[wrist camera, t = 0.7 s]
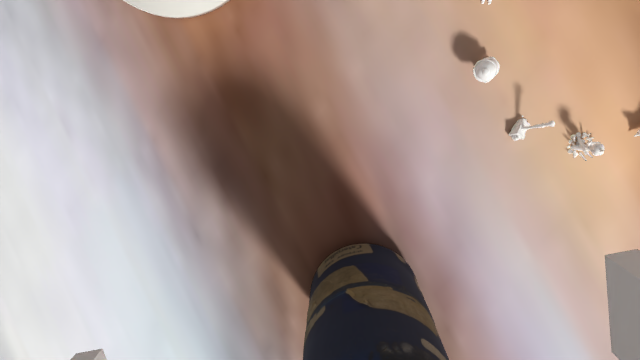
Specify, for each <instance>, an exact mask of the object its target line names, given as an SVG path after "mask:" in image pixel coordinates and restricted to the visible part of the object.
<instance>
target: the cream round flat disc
mask: <svg viewBox="0 0 640 360" xmlns="http://www.w3.org/2000/svg"><path fill="white" fill-rule="evenodd" d="M124 1H125V2H127V3H128V4H130V5H132V6H134V7H136V8H138V9H140V10H142V11H145V12H148V13H151V14H154V15H157V16H162V17H166V18H178V19H180V18H192V17H197V16H201V15H204V14H207V13H210V12H212V11H214V10H216V9H218V8H220V7H222V6H223V5H224V4H226V3H227V2H228V1H230V0H124Z"/></svg>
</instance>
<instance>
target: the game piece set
mask: <svg viewBox="0 0 640 360" xmlns="http://www.w3.org/2000/svg"><path fill="white" fill-rule="evenodd" d="M491 1H492V0H488V4H489V5H490V4H491ZM484 2H485V0H481V4H484ZM474 66H475V67H473V69H474V70H473V73H474V76H475V78H476V79H477V80H478V81H480V82H484V83H486V82H489V81H490V80H491V79H493V78H494V77H495V76H496V75H497V73H498V72H499V68H500V66H499V62H498V61H497V60H496V59H495V58H494V57H487V58H483V59H482V60H479V61H477V62H476V64H475V65H474ZM522 117H523V115H522ZM554 125H555V122H554V121H550V122H548V123H542V124H538V125H534V126H530V123H528V122H527V120H526V119H524V118H522V119H518V120H517V122H516V124H515V125H513V128H512V129H511V131H510V133H509V134H508V135H509V136H511V137H512V139H513V140H515V141H516V140H519V139H524V138H525V133H526V130H528V129H532V128H540V127H545V126H550V127H554ZM590 134H591V133H590ZM590 134H587V133H585V132H584V133H583V134H582V135H583V136H582V137H581V138H584V137H586V136H587V137H589V135H590ZM580 136H581V133H580V132H577V133H576V135H575V134H573V135H571V139H573V141H576V139H575V137H577V142H576V145H575V144H574V143H572V140H571V139H570V140H569V143H570V144H571V143H572V145H573V146H571V147H570V145H568V146H567V148H571V149H574V151H572V150H571V149H569V150H568V153H570V154H571V153H572V152H573V158H575V157H576V156H577V155H578V153H576V150H582V151H583V152H584V154H585V155H589V156H590V157H592V156H591V155H590V154H589V152H588V151H591V152H592V154H593V155H597V156H598V155H602V154H603V152H604V146H603V144H601V143H600V142H592V138H594V137H590V138H586V140H588V142H587V143H586V144H584V142H585V140H584V139H583V140H581V138H580ZM634 136H640V129H639V130H638V133H637V134H635V135H634ZM577 144H578V145H577ZM593 144H594V145H593ZM579 155H580V156H581V157H582V158H583V159H584V160H585V161H587V160H586V158H585V157H584V156H583V155H582V153H581V152H580V153H579ZM592 158H593V157H592Z"/></svg>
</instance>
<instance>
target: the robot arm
mask: <svg viewBox="0 0 640 360" xmlns="http://www.w3.org/2000/svg"><path fill="white" fill-rule="evenodd" d="M605 266H606V280H607V294H608V308H609V322H610V336H611V350H612V353H613V354H614V355H615V356H616V357H617V358H618V359H619V360H640V250H638V249H635V250H630V251H625V252H619V253H614V254H608V255H605ZM71 360H107V359H106V357H105V354H104V352H103V349H98V350H93V351H88V352H82V353H77V354H75V355H74V356H73V358H72V359H71Z"/></svg>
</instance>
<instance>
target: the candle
mask: <svg viewBox="0 0 640 360" xmlns="http://www.w3.org/2000/svg"><path fill="white" fill-rule="evenodd" d="M303 360H449V359H448V356H447V354H446V351H445V349H444V347H443V344H442V342H441V339H440V337H439V334H438V332H437V329H436V326H435V323H434V320H433V318H432V316H431V313H430V311H429V309H428V306H427V304H426V302H425V300H424V297H423V294H422V292H421V291H420V289H419V286H418V283H417V280H416V277H415V275H414V273H413V271H412V269H411V268H410V266H409V265H408V264H407V262H406V261H405V260H404V259H403V258H402V257H401V256H399V255H398V254H397V253H395V252H394V251H392V250H390V249H388V248H385V247H383V246H379V245H374V244H355V245H350V246H346V247H344V248H341V249H339V250H337V251H335V252H333V253H332V254H331V255H329V256H328V257H327V258H326V259H325V260H324V261H323V262H322V263H321V265H320V266H319V268H318V269H317V271H316V273H315V276H314V278H313V281H312V285H311V292H310V301H309V308H308V314H307V326H306V332H305V340H304V352H303Z"/></svg>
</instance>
